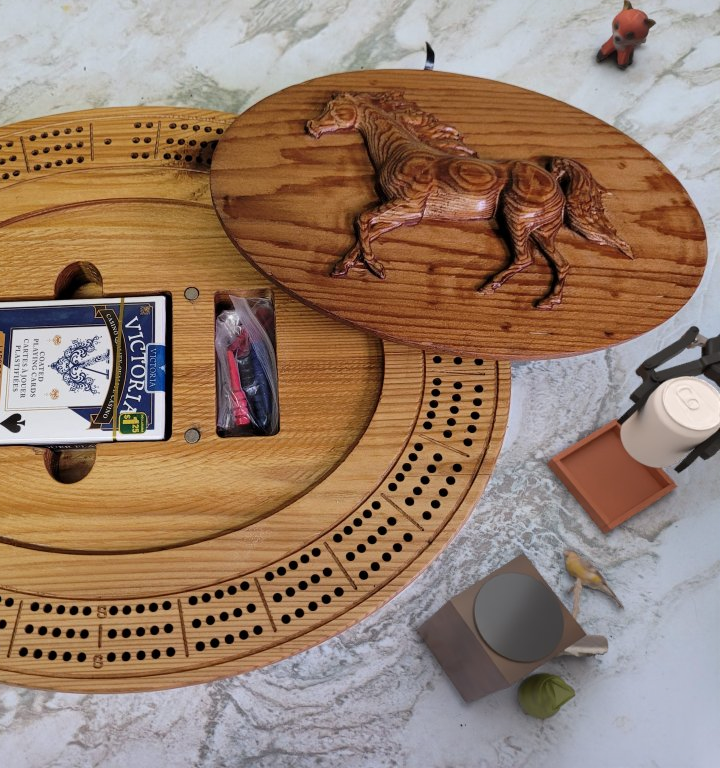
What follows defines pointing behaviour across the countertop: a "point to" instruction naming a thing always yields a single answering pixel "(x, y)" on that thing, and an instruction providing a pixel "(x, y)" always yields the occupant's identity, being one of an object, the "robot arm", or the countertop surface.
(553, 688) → the green pointed bulb
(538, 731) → the countertop surface
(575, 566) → the decorative sculpture
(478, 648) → the stand
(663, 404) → the beverage can
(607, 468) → the tray
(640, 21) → the stuffed fox
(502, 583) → the coaster
